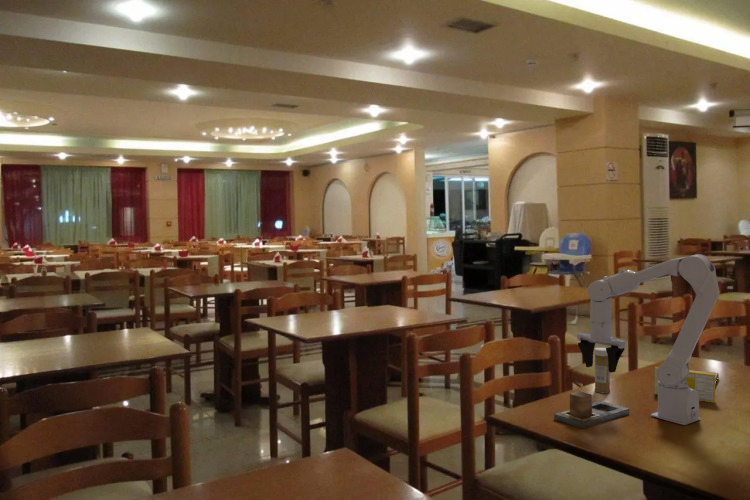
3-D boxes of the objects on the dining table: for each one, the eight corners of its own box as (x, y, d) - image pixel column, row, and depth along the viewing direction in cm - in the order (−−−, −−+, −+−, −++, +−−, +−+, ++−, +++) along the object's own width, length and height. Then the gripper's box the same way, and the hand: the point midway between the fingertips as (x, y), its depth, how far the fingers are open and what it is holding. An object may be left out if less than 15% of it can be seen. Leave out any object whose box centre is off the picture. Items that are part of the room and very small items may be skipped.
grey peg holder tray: (629, 413, 166) (629, 407, 166) (582, 428, 155) (582, 422, 155) (600, 405, 173) (600, 400, 173) (554, 419, 162) (554, 413, 162)
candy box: (715, 402, 176) (716, 373, 176) (714, 403, 174) (714, 375, 174) (655, 392, 186) (656, 366, 186) (653, 394, 184) (654, 367, 184)
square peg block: (591, 420, 161) (592, 394, 160) (582, 423, 159) (582, 397, 158) (579, 416, 164) (579, 391, 164) (569, 419, 162) (569, 393, 162)
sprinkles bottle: (613, 392, 187) (613, 348, 186) (603, 394, 184) (604, 350, 184) (600, 388, 191) (600, 346, 190) (591, 391, 188) (591, 348, 187)
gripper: (570, 320, 177) (570, 366, 177) (614, 327, 165) (614, 376, 165) (586, 317, 181) (585, 362, 181) (630, 324, 169) (629, 372, 169)
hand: (600, 369), depth 174 cm, fingers open, 7 cm apart
